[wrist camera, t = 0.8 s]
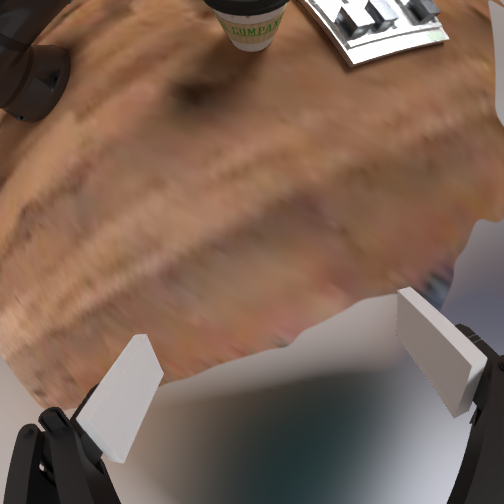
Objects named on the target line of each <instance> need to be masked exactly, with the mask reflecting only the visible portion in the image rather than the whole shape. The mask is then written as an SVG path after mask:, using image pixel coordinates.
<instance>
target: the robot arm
mask: <svg viewBox="0 0 504 504" xmlns="http://www.w3.org/2000/svg"><path fill="white" fill-rule="evenodd" d="M72 1H73V0H0V109H3V110H4V111H6V112H7V113H9V114H10V115H12V116H13V117H14V118H16V119H17V120H20V121H24V122H35V121H38V120H40V119H41V118H43V117H44V116H46V115H47V114H48V113H49V112H50V111H51V110H52V108H53V107H54V106H55V105H56V103H57V102H58V100H59V99H60V97H61V95H62V93H63V91H64V89H65V87H66V84H67V81H68V78H69V74H70V58H69V55H68V53H67V52H66V51H65V50H64V49H62V48H60V47H58V46H55V45H31V44H32V43H33V42H34V41H35V39H36V38H37V37H38V36H39V35H40V33H41V32H42V31H43V30H44V29H45V28H46V27H47V25H48V24H49V23H50V22H51V21H52V20H53V19H54V18H55V17H56V16H57V15H58V14H59V13H60V12H61V11H62V10H63V9H64V8H65V7H66V6H67V5H68V4H70V3H71V2H72ZM396 331H397V332H396V336H397V337H398V338H399V340H400V341H401V342H402V344H403V345H404V347H405V348H406V349H407V351H408V352H409V353H410V355H411V356H412V358H413V359H414V360H415V362H416V363H417V365H418V366H419V367H420V368H421V370H422V372H423V373H424V375H425V376H426V377H427V379H428V380H429V382H430V383H431V385H432V386H433V388H434V389H435V390H436V392H437V393H438V395H439V396H440V398H441V399H442V401H443V403H444V404H445V405H446V407H447V409H448V410H449V412H450V413H451V415H452V416H453V418H456V417H458V416H460V415H461V414H463V413H465V412H467V411H469V408H470V406H471V404H472V401H474V403H475V404H476V405H477V407H476V410H475V412H474V415H473V416H472V418H471V421H470V424H471V423H472V427H471V431H470V436H469V439H468V443H467V447H466V450H465V454H464V457H463V461H462V464H461V467H460V470H459V473H458V476H457V479H456V481H455V484H454V487H453V489H452V492H451V494H450V497H449V499H448V501H447V504H504V355H501V356H499V355H498V354H497V353H496V352H495V351H494V350H493V349H492V348H490V346H488V345H487V344H486V343H485V342H484V341H483V340H481V338H480V337H479V336H478V335H476V334H475V333H474V332H473V331H472V330H471V329H470V328H469V327H466V326H464V325H462V324H458V325H455V326H454V325H453V324H452V323H451V322H450V321H448V320H447V319H446V318H445V317H444V316H443V315H442V314H441V313H440V312H438V311H437V310H436V309H435V308H434V307H433V306H432V305H431V304H429V303H428V302H427V301H426V300H425V299H424V298H423V297H421V296H420V295H419V294H418V293H417V292H416V291H414V290H413V289H412V288H411V287H408V288H404V289H400V290H397V330H396ZM163 374H164V373H163V371H162V369H161V367H160V365H159V362H158V360H157V358H156V356H155V353H154V351H153V349H152V346H151V344H150V341H149V339H148V337H147V334H140V335H134V337H133V338H132V339H131V341H130V342H129V343H128V345H127V346H126V347H125V349H124V350H123V352H122V353H121V354H120V356H119V357H118V358H117V360H116V361H115V363H114V364H113V365H112V367H111V368H110V370H109V371H108V372H107V374H106V375H105V377H104V378H103V380H102V381H101V382H100V383H98V384H97V385H95V386H94V387H93V388H92V389H91V390H90V391H89V393H88V394H87V395H86V398H84V400H83V401H82V403H81V404H80V405H79V407H78V408H77V410H76V411H75V413H74V414H73V416H72V417H71V419H70V420H69V419H68V418H67V417H66V415H65V414H64V412H63V411H62V410H61V409H60V408H59V407H51V408H48V409H46V410H45V411H44V412H42V413H41V415H40V416H39V420H38V422H39V423H40V424H41V426H42V427H43V428H44V429H45V431H43V432H41V431H40V429H39V428H38V427H37V425H35V424H27V425H25V426H23V427H22V428H21V429H20V431H19V433H18V436H17V439H16V443H15V446H14V450H13V454H12V458H11V463H10V468H9V472H8V477H7V483H6V488H5V495H4V502H3V504H121V502H120V500H119V498H118V496H117V493H116V491H115V489H114V487H113V484H112V482H111V479H110V477H109V475H108V472H107V469H106V467H105V464H104V462H103V461H102V459H101V458H100V457H101V456H102V454H104V455H105V456H106V457H107V458H108V459H109V460H110V461H114V462H119V463H124V462H125V460H126V457H127V455H128V453H129V450H130V448H131V445H132V443H133V441H134V439H135V437H136V434H137V432H138V430H139V427H140V425H141V423H142V421H143V418H144V416H145V414H146V412H147V409H148V407H149V405H150V403H151V401H152V398H153V396H154V394H155V392H156V390H157V387H158V385H159V383H160V381H161V379H162V377H163ZM40 464H41V465H42V466H44V470H43V471H42V470H41V469H40V467H39V465H40Z"/></svg>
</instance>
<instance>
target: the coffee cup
mask: <svg viewBox="0 0 504 504" xmlns="http://www.w3.org/2000/svg"><path fill="white" fill-rule="evenodd" d="M288 1H289V0H204V2H205V3H206V4H207V5H208V6H210V7H211V8H212V10H213V12H214V14H215V16H216V17H217V19H218V21H219V22H220V24H221V26H222V27H223V29H224V31H225V33H226V34H227V35H228V36H229V38H230V40H231V41H232V43H233V44H234V46H236V47H237V48H239V49H240V50H243V51H248V52H254V51H259V50H262V49H264V48H266V47H267V46H269V44H270V43H271V42H272V40H273V37H274V34H275V33H276V31H277V29H278V27H279V24H280V21H281V19H282V16H283V14H284V11H285V9H286V6H287V2H288Z"/></svg>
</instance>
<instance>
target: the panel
mask: <svg viewBox="0 0 504 504" xmlns="http://www.w3.org/2000/svg"><path fill="white" fill-rule="evenodd" d="M299 1H300V2H301V4H302V5H303V6H304V7H305V8H306V9H307V11H308V12H309V13H310V14H311V15H312V17H313V18H314V19H315V20H316V22H317V23H318V24H319V25H320V27H321V28H322V29H323V31H324V32H325V33H326V35H327V36H328V37H329V39H330V40H331V41H332V43H333V44H334V45H335V47H336V48H337V50H338V51H339V53H340V54H341V55H342V57H343V58H344V60H345V61H346V63H347V64H348V66H349V67H350V68H352V67H355V66H358V65H361V64H364V63H367V62H370V61H373V60H377V59H380V58H383V57H386V56H390V55H393V54H397V53H401V52H404V51H408V50H412V49H416V48H420V47H425V46H429V45H434V44H439V43H444V42H445V41H447V40H449V37H448V36H447V34H446V33H445V31H444V30H443V28H442V25H441V23H440V22H438V21H439V20H438V19H437V18H436V16H437V15H438V14H440V13H441V12H440V10H439V9H438V8H437V6H436V5H435V4H434V2H433V1H432V0H299Z"/></svg>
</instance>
